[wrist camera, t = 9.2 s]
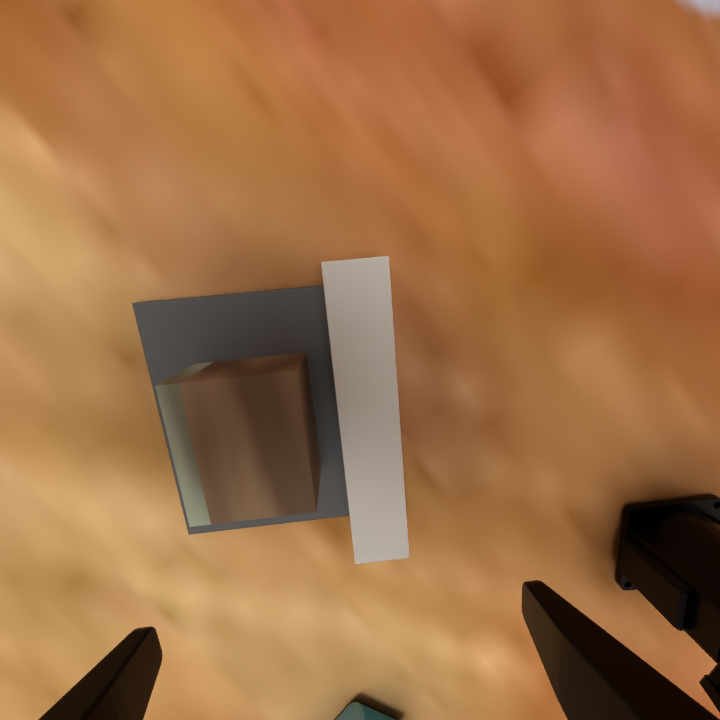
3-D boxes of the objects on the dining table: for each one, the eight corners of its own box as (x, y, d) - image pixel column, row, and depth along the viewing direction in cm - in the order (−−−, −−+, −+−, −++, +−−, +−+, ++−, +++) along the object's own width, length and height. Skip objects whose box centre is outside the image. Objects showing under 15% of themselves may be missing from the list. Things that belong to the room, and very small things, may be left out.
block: (296, 371, 14) (155, 385, 14) (316, 511, 16) (189, 527, 16) (306, 352, 18) (195, 363, 18) (321, 466, 20) (219, 478, 20)
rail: (380, 260, 18) (388, 255, 15) (399, 520, 21) (409, 557, 18) (324, 265, 17) (321, 262, 15) (353, 525, 21) (355, 564, 18)
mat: (326, 284, 18) (326, 284, 17) (351, 512, 21) (351, 515, 21) (135, 302, 17) (132, 303, 17) (190, 530, 21) (188, 534, 20)
